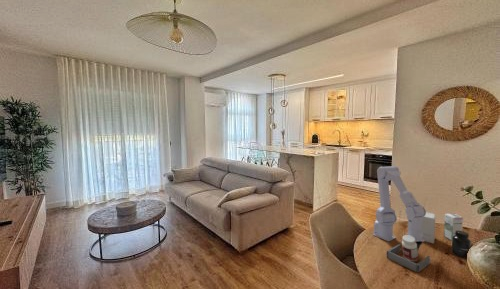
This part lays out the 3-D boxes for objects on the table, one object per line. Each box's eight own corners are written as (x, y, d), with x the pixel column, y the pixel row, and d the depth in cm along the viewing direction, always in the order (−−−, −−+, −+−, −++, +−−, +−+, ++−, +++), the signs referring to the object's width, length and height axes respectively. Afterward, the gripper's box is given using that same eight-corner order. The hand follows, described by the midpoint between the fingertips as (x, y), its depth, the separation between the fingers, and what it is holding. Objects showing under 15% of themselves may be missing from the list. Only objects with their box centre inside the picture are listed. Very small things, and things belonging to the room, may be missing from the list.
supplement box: (434, 237, 127) (435, 213, 126) (434, 244, 120) (435, 218, 119) (415, 233, 133) (416, 210, 132) (414, 238, 126) (414, 214, 125)
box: (386, 257, 109) (386, 251, 109) (399, 250, 115) (399, 243, 115) (417, 272, 97) (418, 265, 97) (429, 263, 103) (430, 256, 103)
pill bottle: (400, 254, 110) (397, 236, 108) (410, 250, 111) (408, 232, 108) (411, 263, 104) (408, 244, 102) (421, 259, 105) (419, 240, 102)
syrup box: (462, 241, 122) (463, 217, 121) (452, 241, 123) (453, 217, 121) (453, 236, 128) (454, 213, 127) (443, 236, 128) (444, 213, 127)
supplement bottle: (464, 259, 106) (465, 236, 105) (448, 252, 112) (449, 230, 111) (473, 257, 108) (474, 234, 107) (457, 249, 114) (458, 228, 113)
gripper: (417, 235, 101) (416, 262, 102) (430, 227, 108) (429, 253, 109) (401, 229, 107) (400, 255, 108) (414, 222, 114) (413, 246, 115)
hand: (413, 253), depth 109 cm, fingers closed
